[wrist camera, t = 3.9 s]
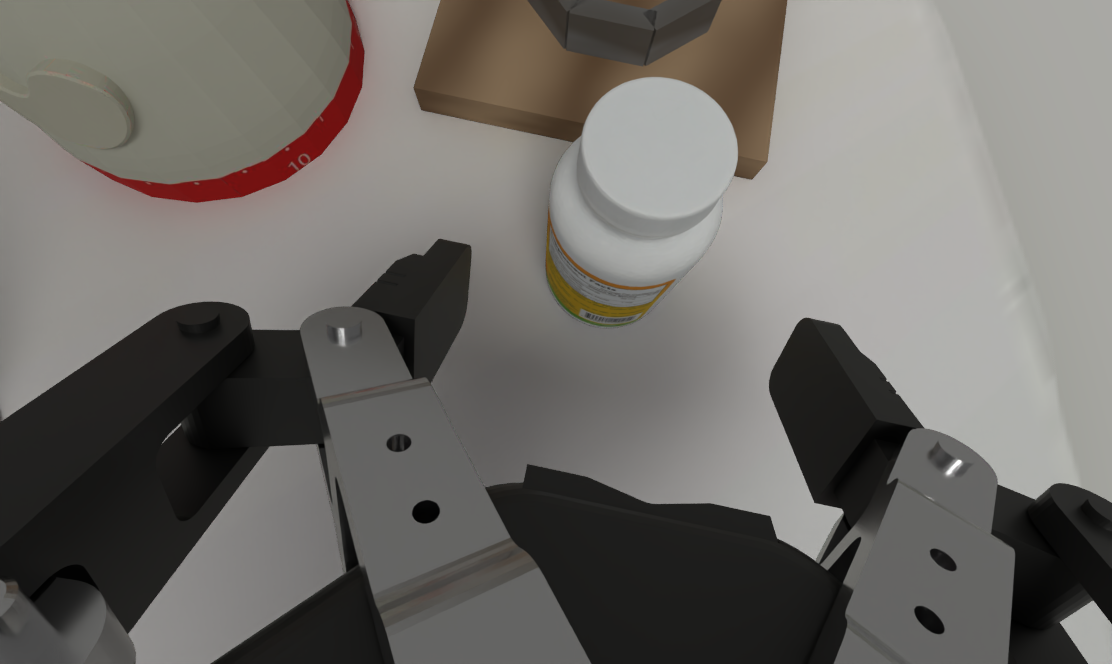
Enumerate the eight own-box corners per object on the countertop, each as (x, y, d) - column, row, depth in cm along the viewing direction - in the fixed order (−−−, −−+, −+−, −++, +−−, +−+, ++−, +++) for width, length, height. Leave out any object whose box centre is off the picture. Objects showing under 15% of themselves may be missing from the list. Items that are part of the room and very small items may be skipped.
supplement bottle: (613, 193, 22) (671, 15, 13) (689, 282, 21) (811, 163, 12) (520, 260, 21) (508, 121, 12) (596, 355, 21) (648, 289, 11)
